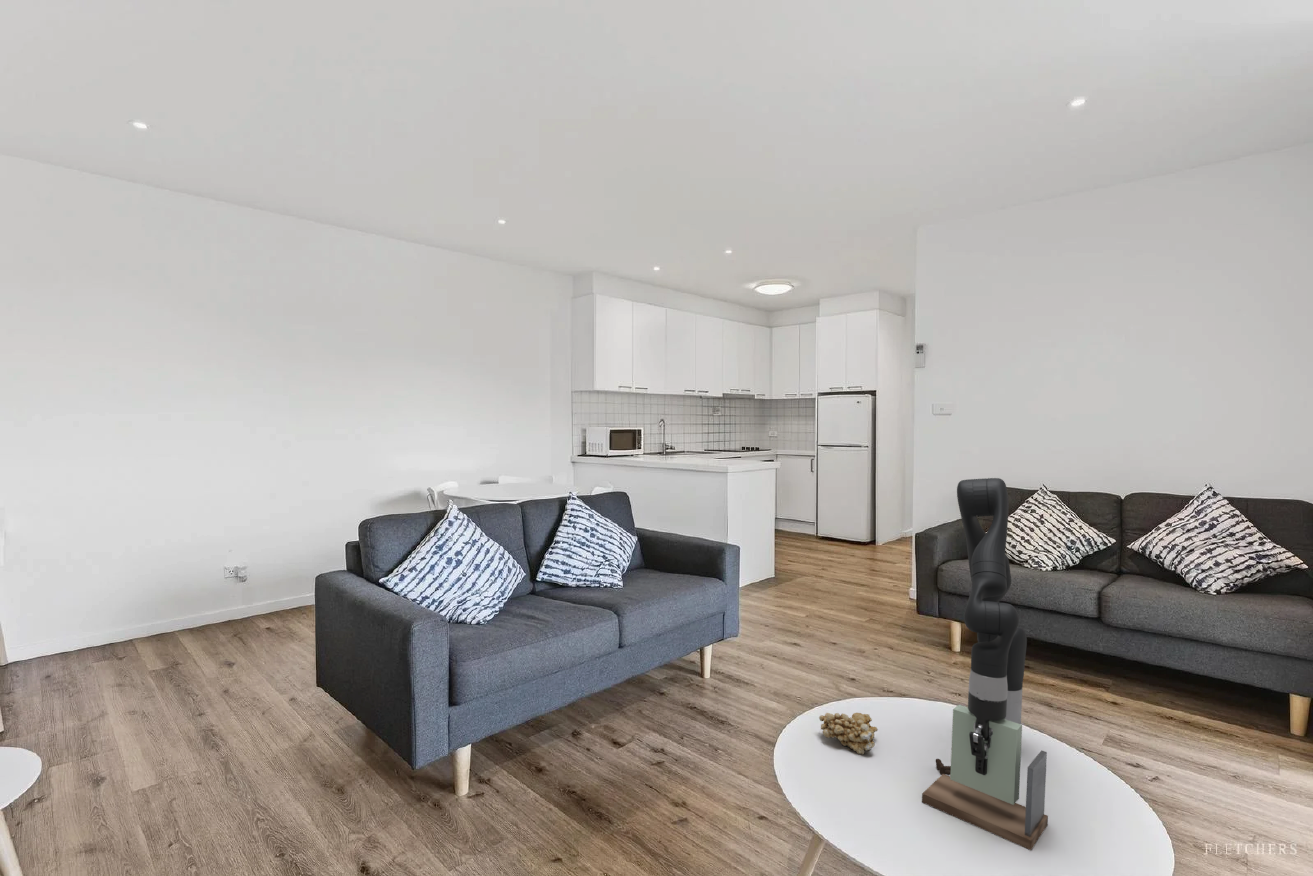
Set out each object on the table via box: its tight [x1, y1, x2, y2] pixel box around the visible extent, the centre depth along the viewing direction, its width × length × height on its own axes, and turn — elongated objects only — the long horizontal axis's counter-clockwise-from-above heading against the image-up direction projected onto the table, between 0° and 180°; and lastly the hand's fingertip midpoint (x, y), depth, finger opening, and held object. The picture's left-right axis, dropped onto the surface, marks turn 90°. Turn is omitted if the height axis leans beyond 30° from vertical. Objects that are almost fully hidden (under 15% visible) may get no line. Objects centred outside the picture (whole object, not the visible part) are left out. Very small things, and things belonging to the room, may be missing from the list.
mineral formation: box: [818, 712, 879, 755], centre depth 171 cm, size 8×13×15 cm
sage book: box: [949, 704, 1023, 805], centre depth 141 cm, size 4×13×16 cm, turn 45°
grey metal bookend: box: [1025, 750, 1048, 837], centre depth 134 cm, size 10×1×14 cm, turn 135°
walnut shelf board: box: [921, 774, 1049, 851], centre depth 141 cm, size 12×22×2 cm, turn 45°
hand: (984, 769), depth 141 cm, fingers closed on sage book, 3 cm apart
